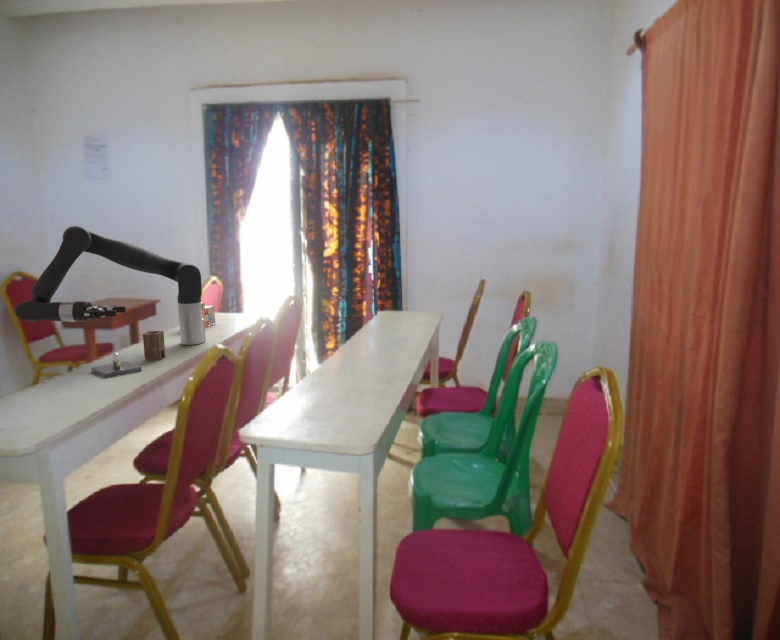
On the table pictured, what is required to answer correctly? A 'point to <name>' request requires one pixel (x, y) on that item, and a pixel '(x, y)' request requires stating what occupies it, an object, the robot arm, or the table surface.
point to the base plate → (116, 368)
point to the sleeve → (154, 345)
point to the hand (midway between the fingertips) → (120, 311)
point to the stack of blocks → (208, 314)
